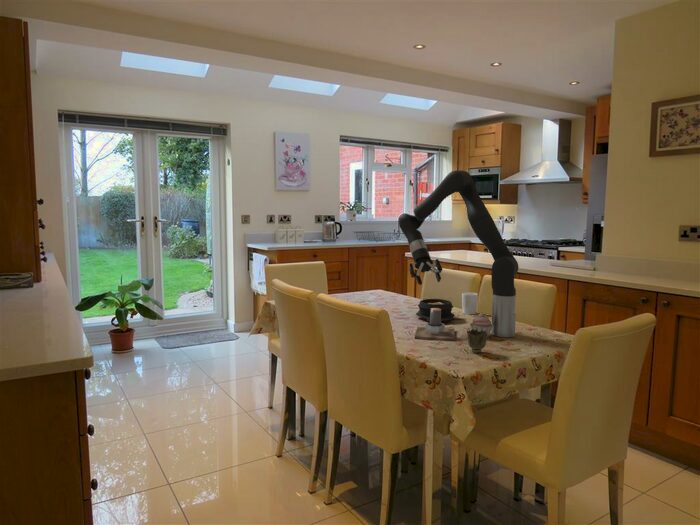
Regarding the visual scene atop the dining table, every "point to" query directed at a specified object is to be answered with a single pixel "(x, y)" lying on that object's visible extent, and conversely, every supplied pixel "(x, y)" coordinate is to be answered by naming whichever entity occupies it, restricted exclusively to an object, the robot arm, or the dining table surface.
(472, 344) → the cup
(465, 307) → the white cup
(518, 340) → the dining table surface
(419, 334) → the board
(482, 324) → the cupcake
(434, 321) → the grey cylinder tan top
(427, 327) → the grey octagonal sleeve
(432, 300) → the casserole
